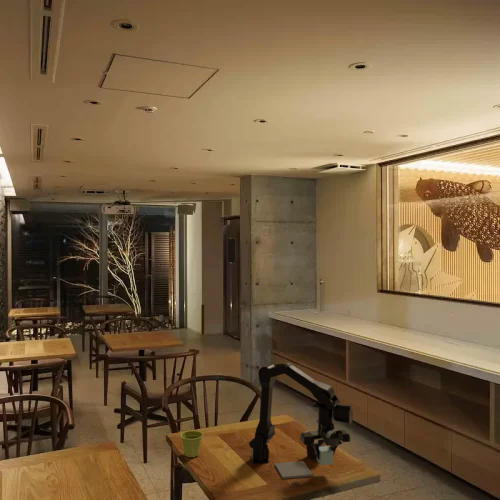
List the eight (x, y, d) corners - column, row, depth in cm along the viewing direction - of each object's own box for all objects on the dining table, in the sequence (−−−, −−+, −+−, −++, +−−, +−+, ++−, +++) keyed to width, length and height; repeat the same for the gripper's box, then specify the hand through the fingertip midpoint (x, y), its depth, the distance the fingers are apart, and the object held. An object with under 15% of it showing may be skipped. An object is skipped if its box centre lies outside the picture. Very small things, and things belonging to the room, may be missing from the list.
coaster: (282, 478, 196) (282, 476, 196) (274, 465, 208) (274, 463, 208) (312, 476, 199) (312, 474, 199) (303, 463, 210) (303, 461, 210)
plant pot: (197, 461, 211) (197, 440, 211) (176, 457, 214) (176, 437, 214) (206, 452, 220) (206, 432, 220) (186, 449, 223) (186, 429, 223)
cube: (320, 465, 197) (321, 452, 197) (316, 459, 202) (316, 447, 202) (333, 464, 198) (333, 451, 198) (328, 458, 203) (328, 446, 203)
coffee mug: (312, 463, 210) (312, 438, 210) (300, 455, 218) (301, 431, 218) (335, 457, 216) (335, 434, 215) (323, 450, 223) (323, 427, 223)
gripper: (309, 428, 190) (308, 470, 191) (356, 425, 194) (355, 466, 194) (299, 417, 201) (299, 457, 201) (344, 415, 205) (344, 454, 205)
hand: (324, 459), depth 200 cm, fingers closed on cube, 5 cm apart
